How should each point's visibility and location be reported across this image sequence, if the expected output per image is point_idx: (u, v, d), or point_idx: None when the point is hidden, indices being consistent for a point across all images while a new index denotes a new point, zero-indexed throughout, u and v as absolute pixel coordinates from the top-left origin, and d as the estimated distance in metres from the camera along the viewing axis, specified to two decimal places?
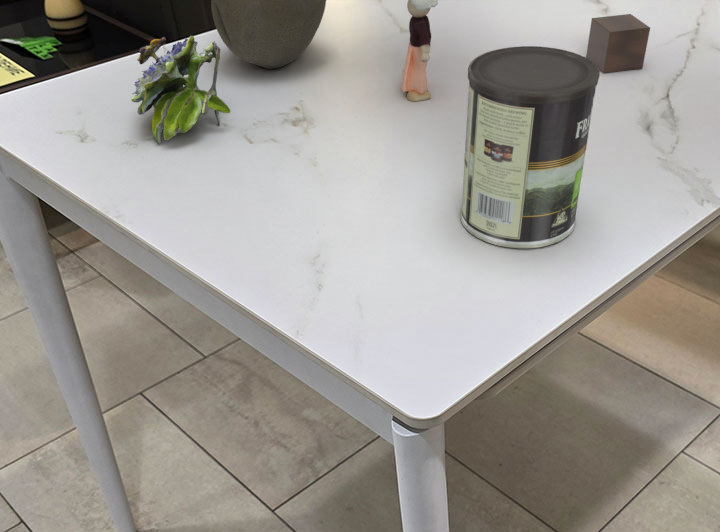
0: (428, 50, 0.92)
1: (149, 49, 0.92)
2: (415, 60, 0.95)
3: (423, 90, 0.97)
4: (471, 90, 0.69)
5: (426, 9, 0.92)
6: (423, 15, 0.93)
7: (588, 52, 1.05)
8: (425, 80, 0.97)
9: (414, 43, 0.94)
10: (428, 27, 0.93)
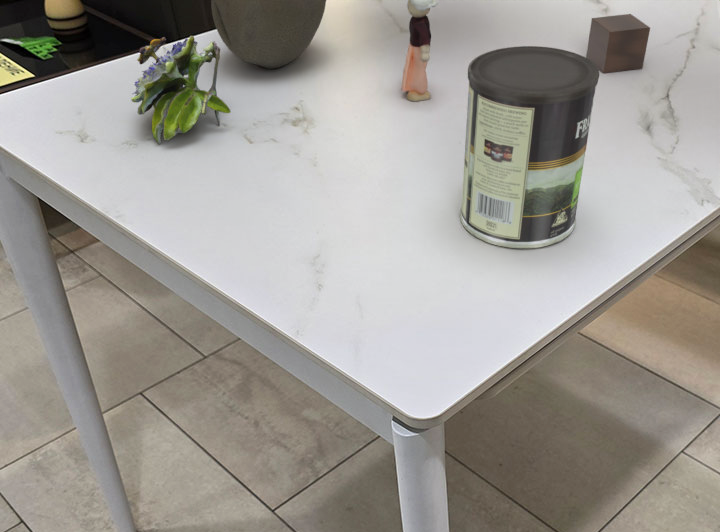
0: (428, 50, 0.92)
1: (149, 49, 0.92)
2: (415, 60, 0.95)
3: (423, 90, 0.97)
4: (471, 90, 0.69)
5: (426, 9, 0.92)
6: (423, 15, 0.93)
7: (588, 52, 1.05)
8: (425, 80, 0.97)
9: (414, 43, 0.94)
10: (428, 27, 0.93)
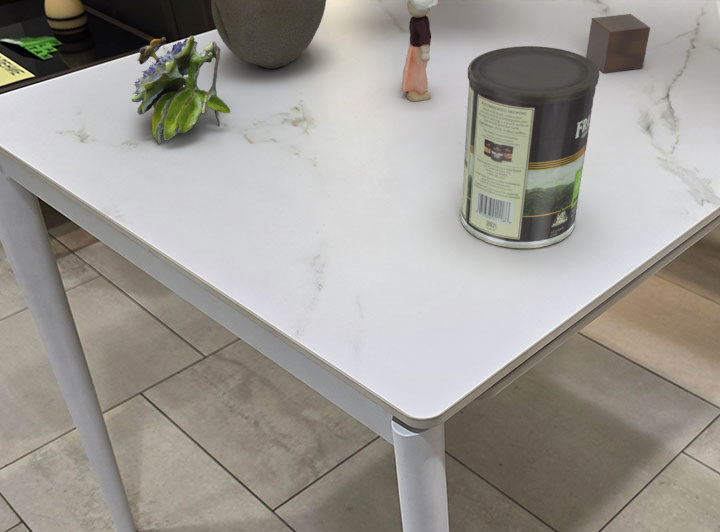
0: (428, 50, 0.92)
1: (149, 49, 0.92)
2: (415, 60, 0.95)
3: (423, 90, 0.97)
4: (471, 90, 0.69)
5: (426, 9, 0.92)
6: (423, 15, 0.93)
7: (588, 52, 1.05)
8: (425, 80, 0.97)
9: (414, 43, 0.94)
10: (428, 27, 0.93)
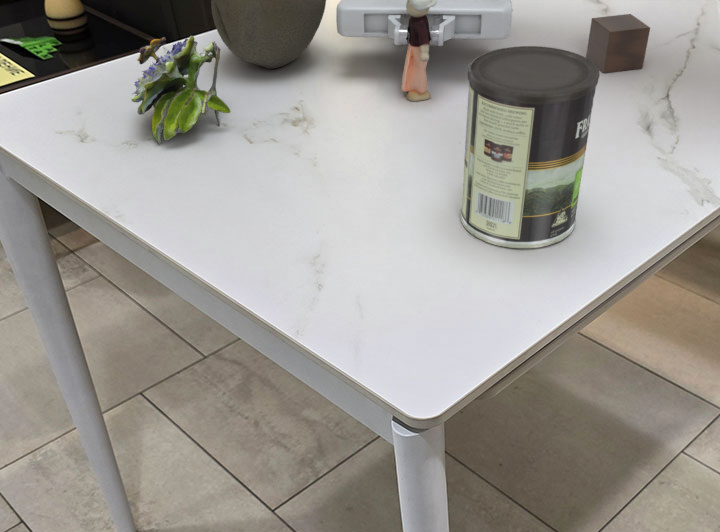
0: (427, 50, 0.92)
1: (149, 49, 0.92)
2: (414, 60, 0.95)
3: (423, 90, 0.97)
4: (471, 90, 0.69)
5: (425, 9, 0.92)
6: (422, 15, 0.93)
7: (588, 52, 1.05)
8: (425, 80, 0.97)
9: (413, 42, 0.94)
10: (427, 27, 0.93)
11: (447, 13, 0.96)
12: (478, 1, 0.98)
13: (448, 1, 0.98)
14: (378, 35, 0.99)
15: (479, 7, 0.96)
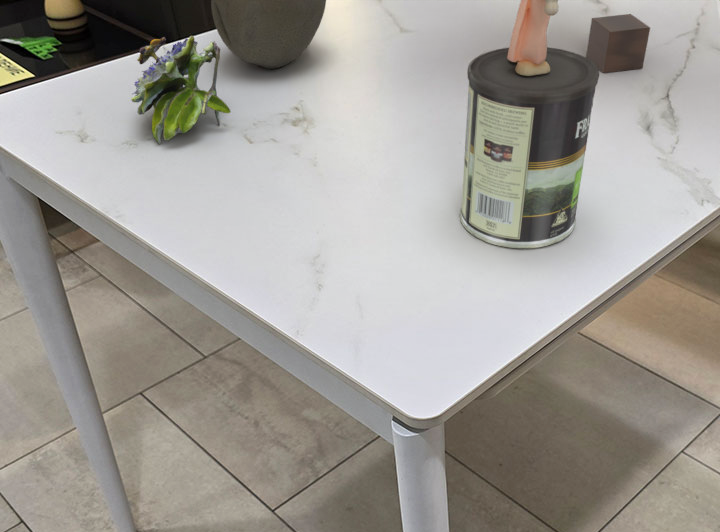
0: None
1: (149, 49, 0.92)
2: (532, 15, 0.65)
3: (541, 59, 0.67)
4: (471, 90, 0.69)
5: None
6: None
7: (588, 52, 1.05)
8: (545, 45, 0.66)
9: None
10: None
11: None
12: None
13: None
14: None
15: None
